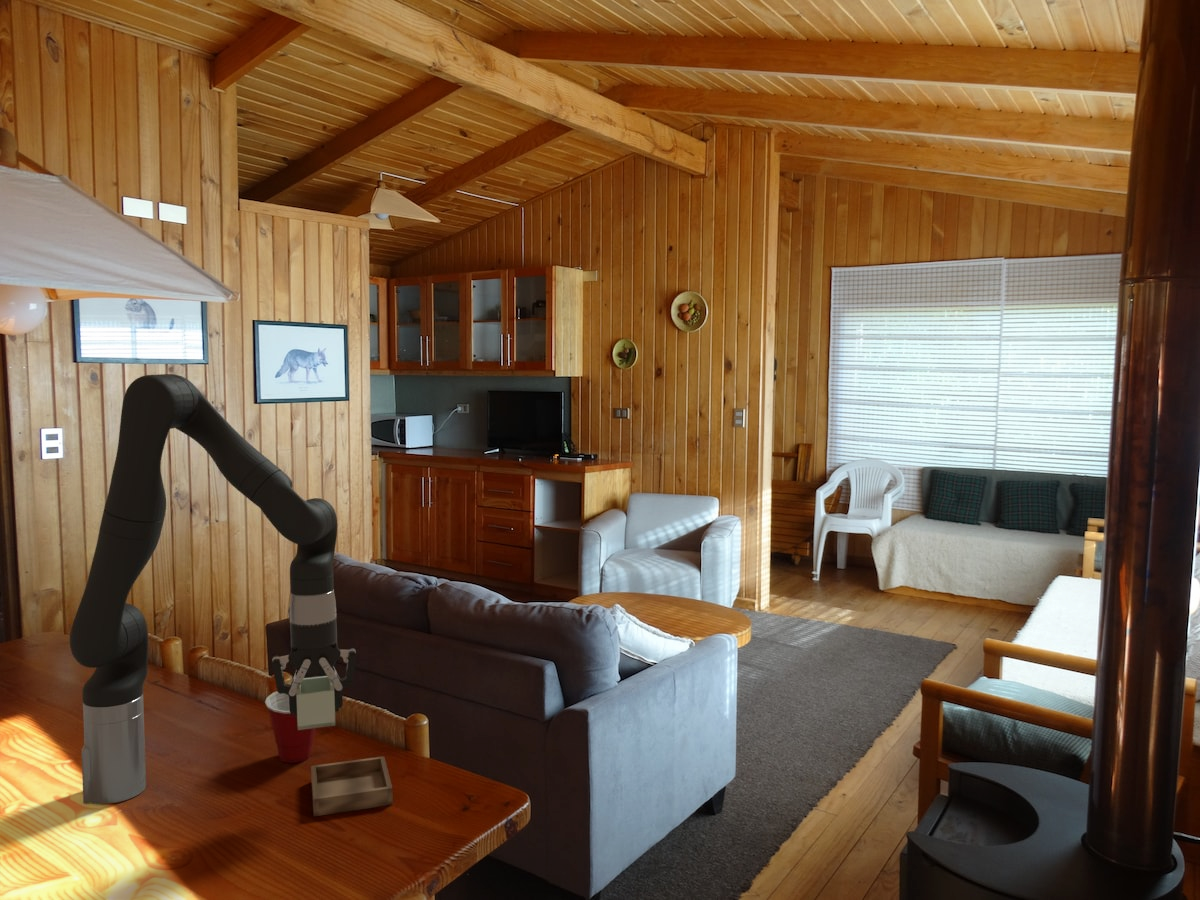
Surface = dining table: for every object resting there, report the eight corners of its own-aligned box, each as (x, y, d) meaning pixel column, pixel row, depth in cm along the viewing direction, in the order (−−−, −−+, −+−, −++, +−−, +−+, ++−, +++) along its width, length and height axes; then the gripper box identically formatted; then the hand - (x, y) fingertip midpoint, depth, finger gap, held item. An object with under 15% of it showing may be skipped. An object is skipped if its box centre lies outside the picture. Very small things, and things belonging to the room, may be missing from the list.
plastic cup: (280, 775, 161) (279, 712, 160) (256, 756, 168) (255, 696, 167) (335, 757, 168) (334, 697, 167) (309, 740, 176) (308, 682, 175)
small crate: (297, 730, 144) (296, 695, 144) (298, 712, 152) (296, 679, 152) (335, 725, 146) (334, 690, 146) (333, 708, 154) (332, 675, 153)
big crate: (313, 816, 146) (313, 799, 146) (311, 781, 158) (311, 765, 158) (392, 804, 151) (392, 787, 151) (384, 771, 163) (384, 756, 163)
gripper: (267, 627, 142) (271, 726, 143) (358, 618, 146) (361, 715, 148) (268, 615, 149) (272, 709, 150) (355, 607, 154) (358, 699, 155)
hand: (316, 712), depth 149 cm, fingers closed on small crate, 6 cm apart
